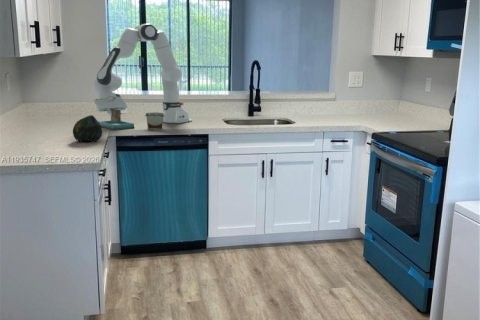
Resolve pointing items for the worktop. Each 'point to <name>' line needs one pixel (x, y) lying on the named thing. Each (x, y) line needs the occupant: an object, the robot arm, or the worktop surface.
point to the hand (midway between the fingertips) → (116, 114)
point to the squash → (87, 129)
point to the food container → (154, 120)
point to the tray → (116, 125)
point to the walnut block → (116, 115)
